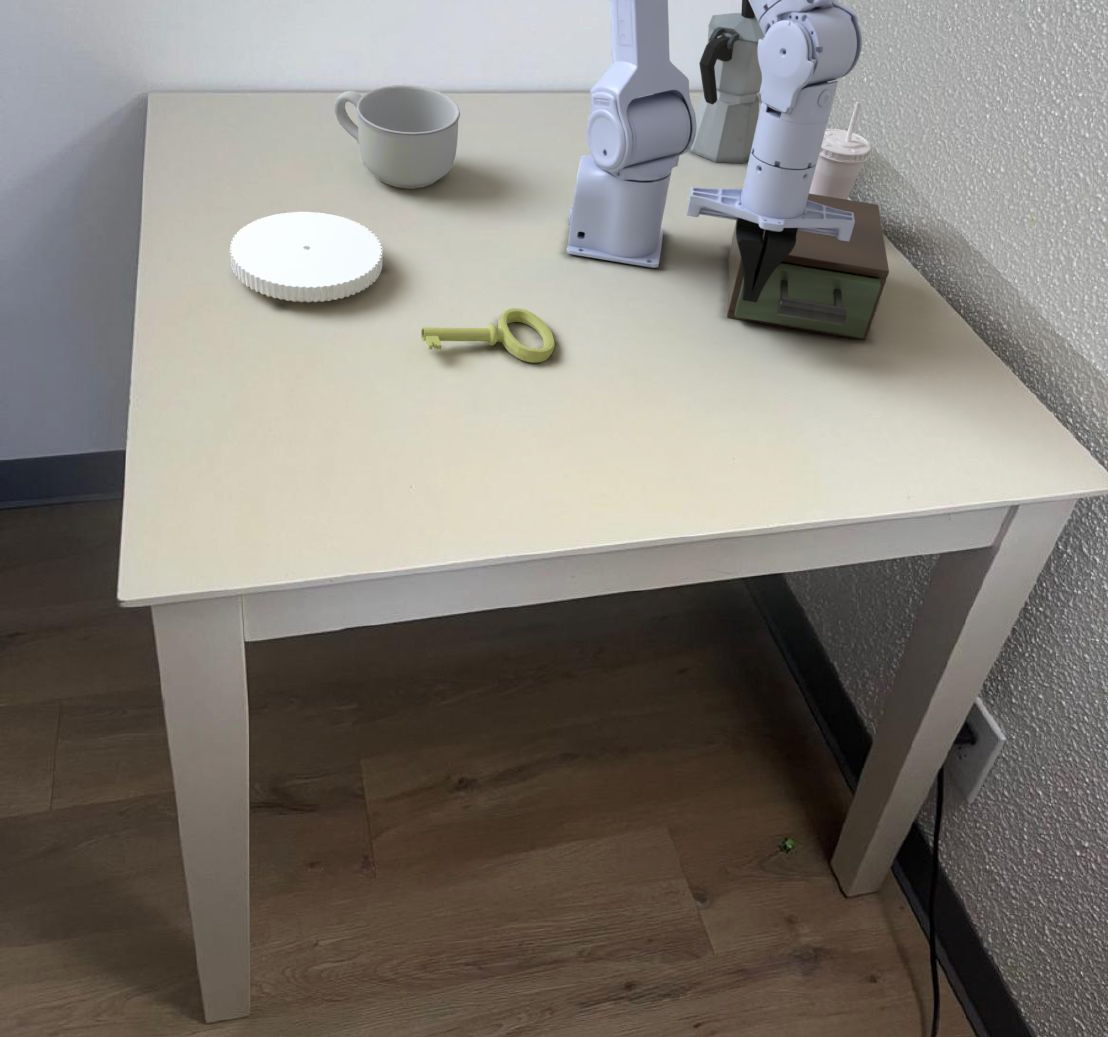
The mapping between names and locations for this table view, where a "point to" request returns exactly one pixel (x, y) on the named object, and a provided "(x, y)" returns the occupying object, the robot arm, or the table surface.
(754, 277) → the robot arm
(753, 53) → the coffee maker
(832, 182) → the smoothie
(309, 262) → the white gear
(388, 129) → the teacup
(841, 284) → the drawer
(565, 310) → the table surface
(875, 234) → the cabinet
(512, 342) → the key
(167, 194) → the table surface
